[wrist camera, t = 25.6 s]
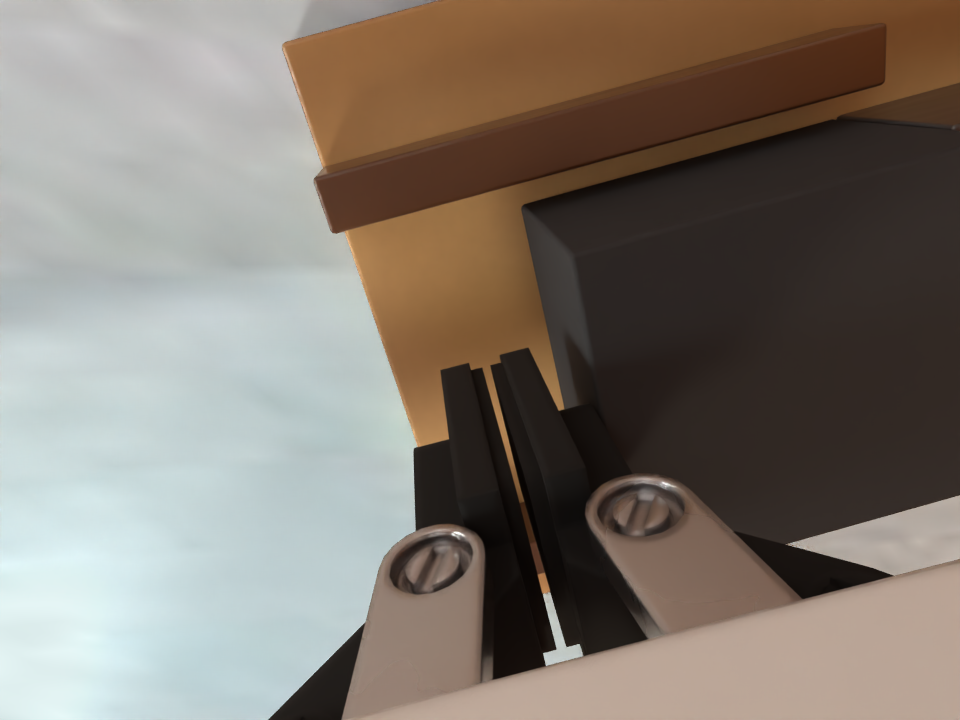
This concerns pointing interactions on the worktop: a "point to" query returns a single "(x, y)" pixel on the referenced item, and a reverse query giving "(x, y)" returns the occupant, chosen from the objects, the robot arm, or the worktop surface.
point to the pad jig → (566, 139)
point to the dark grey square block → (770, 322)
